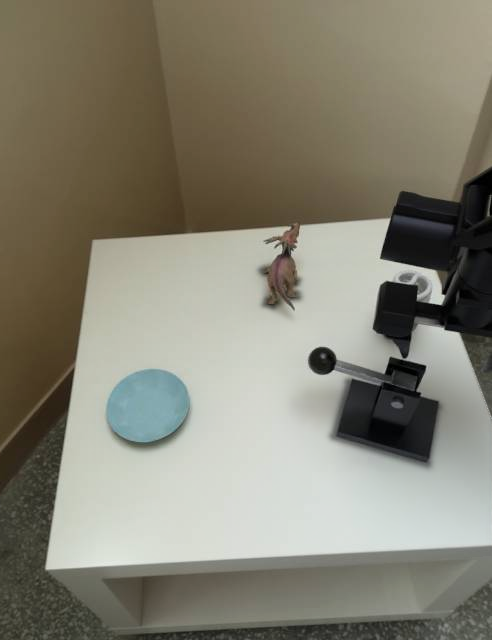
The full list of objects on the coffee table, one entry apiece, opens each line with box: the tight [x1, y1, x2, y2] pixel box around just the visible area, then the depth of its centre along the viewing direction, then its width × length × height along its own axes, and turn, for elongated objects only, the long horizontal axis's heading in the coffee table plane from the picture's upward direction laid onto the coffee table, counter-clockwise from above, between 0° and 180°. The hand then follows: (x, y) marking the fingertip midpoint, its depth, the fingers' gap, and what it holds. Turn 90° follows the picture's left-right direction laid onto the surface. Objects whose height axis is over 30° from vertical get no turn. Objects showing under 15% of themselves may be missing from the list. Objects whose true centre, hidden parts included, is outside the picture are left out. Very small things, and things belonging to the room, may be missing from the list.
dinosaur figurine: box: [262, 222, 301, 312], centre depth 84 cm, size 14×6×9 cm, turn 176°
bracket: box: [335, 356, 440, 463], centre depth 68 cm, size 12×9×11 cm
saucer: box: [105, 368, 190, 443], centre depth 75 cm, size 12×12×2 cm
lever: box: [307, 346, 417, 391], centre depth 66 cm, size 13×4×4 cm, turn 70°
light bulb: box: [391, 269, 434, 333], centre depth 76 cm, size 6×6×12 cm
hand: (444, 362), depth 64 cm, fingers open, 9 cm apart
